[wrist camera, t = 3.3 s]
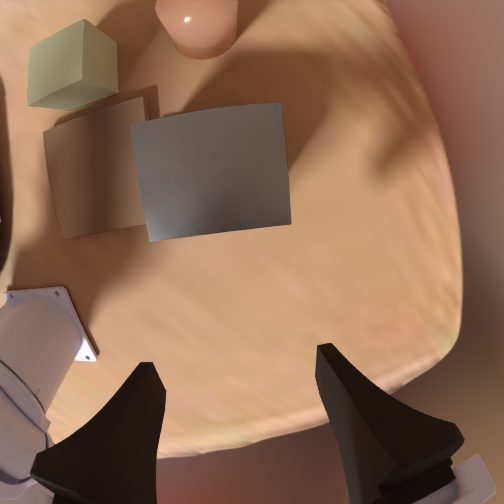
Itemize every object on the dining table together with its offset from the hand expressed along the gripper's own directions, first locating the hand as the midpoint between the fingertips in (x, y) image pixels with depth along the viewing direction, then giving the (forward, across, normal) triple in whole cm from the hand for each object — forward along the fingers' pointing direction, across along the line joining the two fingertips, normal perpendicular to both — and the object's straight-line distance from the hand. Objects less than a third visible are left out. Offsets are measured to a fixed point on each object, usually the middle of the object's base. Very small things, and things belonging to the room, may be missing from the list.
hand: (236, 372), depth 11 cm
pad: (+9, +8, -9) cm, 15 cm away
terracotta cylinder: (+9, 0, -17) cm, 19 cm away
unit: (+9, 0, -8) cm, 12 cm away
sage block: (+9, +8, -16) cm, 20 cm away
